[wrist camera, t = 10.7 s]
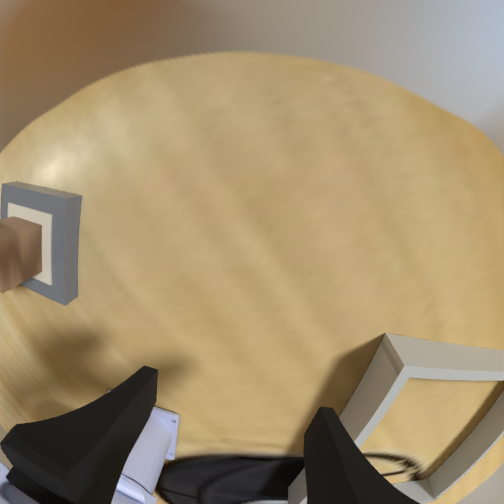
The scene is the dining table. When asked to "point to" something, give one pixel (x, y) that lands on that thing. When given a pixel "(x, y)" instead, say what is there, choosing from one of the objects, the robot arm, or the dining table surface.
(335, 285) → the dining table surface
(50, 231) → the plate
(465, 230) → the dining table surface
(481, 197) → the dining table surface
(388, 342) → the grey corral
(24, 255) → the walnut block
